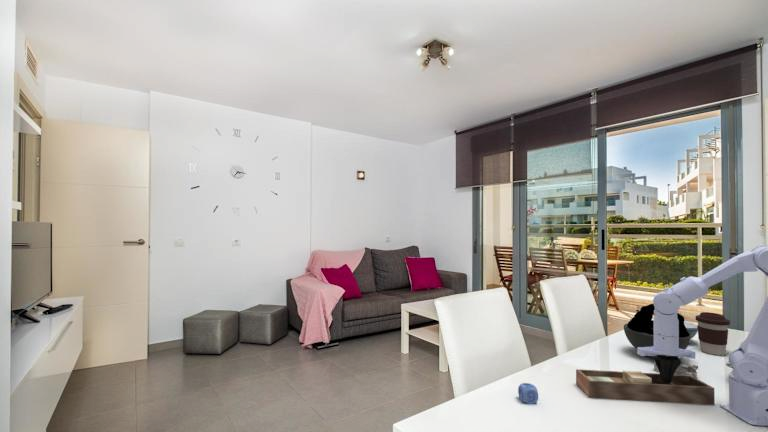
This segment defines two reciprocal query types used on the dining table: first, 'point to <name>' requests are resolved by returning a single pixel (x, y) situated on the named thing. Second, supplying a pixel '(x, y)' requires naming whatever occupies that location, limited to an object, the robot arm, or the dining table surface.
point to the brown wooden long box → (644, 388)
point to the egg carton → (683, 370)
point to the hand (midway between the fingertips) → (666, 381)
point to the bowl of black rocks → (651, 329)
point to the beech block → (636, 377)
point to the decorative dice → (528, 393)
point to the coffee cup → (712, 333)
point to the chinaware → (691, 328)
